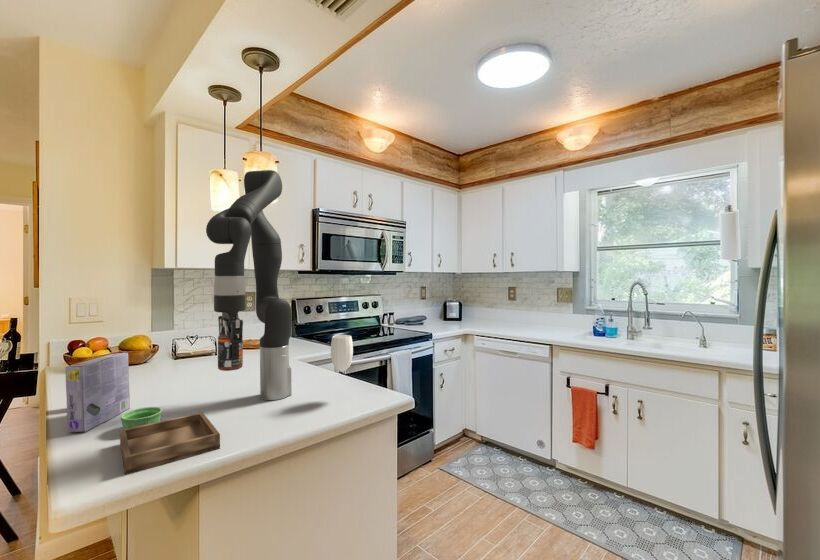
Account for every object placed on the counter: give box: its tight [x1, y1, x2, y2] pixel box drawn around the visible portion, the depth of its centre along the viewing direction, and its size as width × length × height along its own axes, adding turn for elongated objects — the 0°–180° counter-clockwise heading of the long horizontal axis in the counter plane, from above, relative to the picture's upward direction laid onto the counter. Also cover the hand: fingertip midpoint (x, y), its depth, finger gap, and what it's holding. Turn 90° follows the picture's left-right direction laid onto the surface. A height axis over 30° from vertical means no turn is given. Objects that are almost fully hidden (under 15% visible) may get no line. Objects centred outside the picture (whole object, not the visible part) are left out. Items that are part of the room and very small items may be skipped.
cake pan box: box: [64, 352, 131, 433], centre depth 107 cm, size 19×5×18 cm, turn 4°
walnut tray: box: [119, 412, 221, 476], centre depth 90 cm, size 18×18×4 cm
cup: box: [330, 334, 354, 373], centre depth 124 cm, size 7×7×21 cm
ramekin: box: [120, 406, 163, 430], centre depth 101 cm, size 9×9×4 cm
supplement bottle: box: [217, 326, 244, 372], centre depth 99 cm, size 6×6×11 cm
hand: (230, 356), depth 99 cm, fingers closed on supplement bottle, 6 cm apart
